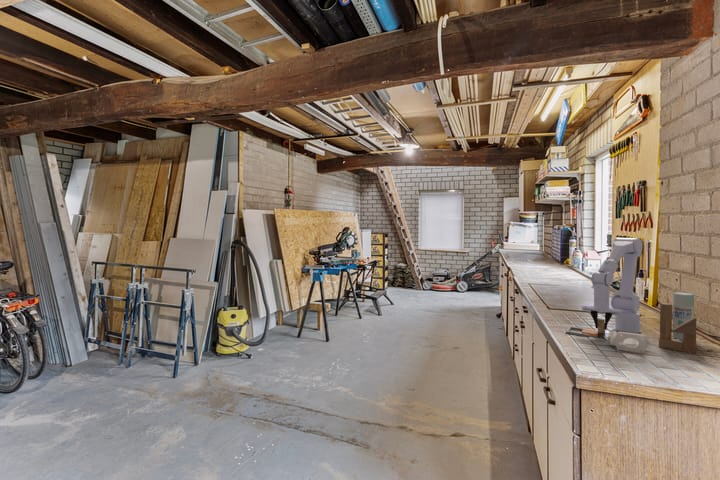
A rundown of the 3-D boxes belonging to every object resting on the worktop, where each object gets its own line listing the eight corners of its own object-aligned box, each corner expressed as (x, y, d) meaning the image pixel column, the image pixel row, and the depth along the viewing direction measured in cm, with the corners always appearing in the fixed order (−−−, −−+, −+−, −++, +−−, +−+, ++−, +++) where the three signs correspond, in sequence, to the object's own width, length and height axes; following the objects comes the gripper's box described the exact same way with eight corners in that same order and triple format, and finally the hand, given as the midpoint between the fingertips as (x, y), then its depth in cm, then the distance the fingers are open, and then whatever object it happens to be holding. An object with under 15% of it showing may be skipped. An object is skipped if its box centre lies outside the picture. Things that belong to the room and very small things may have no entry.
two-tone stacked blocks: (605, 334, 154) (604, 317, 154) (604, 338, 149) (603, 320, 149) (598, 333, 156) (598, 316, 156) (597, 337, 150) (596, 320, 150)
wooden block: (695, 353, 131) (697, 307, 130) (658, 347, 138) (659, 303, 137) (695, 351, 133) (696, 306, 133) (658, 344, 141) (660, 302, 140)
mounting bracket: (606, 351, 139) (607, 331, 135) (606, 341, 144) (606, 321, 139) (644, 357, 132) (646, 336, 128) (642, 347, 137) (644, 325, 133)
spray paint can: (692, 338, 148) (693, 293, 147) (693, 342, 143) (694, 295, 142) (672, 335, 152) (673, 291, 151) (672, 339, 147) (673, 293, 147)
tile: (598, 334, 155) (598, 331, 155) (597, 337, 151) (597, 334, 151) (583, 331, 159) (583, 328, 159) (581, 335, 155) (581, 331, 154)
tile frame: (591, 331, 159) (591, 329, 159) (588, 337, 151) (588, 335, 151) (569, 327, 165) (569, 325, 165) (565, 333, 156) (565, 331, 156)
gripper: (581, 298, 153) (580, 327, 154) (621, 302, 144) (621, 333, 144) (583, 295, 159) (582, 324, 159) (622, 299, 149) (621, 329, 150)
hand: (601, 328), depth 152 cm, fingers closed on two-tone stacked blocks, 3 cm apart
